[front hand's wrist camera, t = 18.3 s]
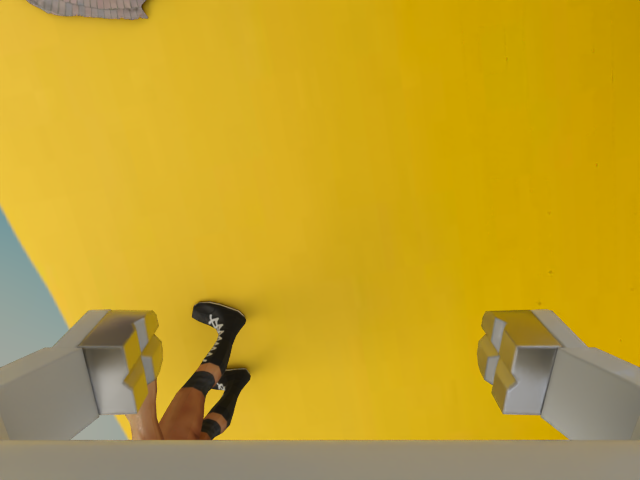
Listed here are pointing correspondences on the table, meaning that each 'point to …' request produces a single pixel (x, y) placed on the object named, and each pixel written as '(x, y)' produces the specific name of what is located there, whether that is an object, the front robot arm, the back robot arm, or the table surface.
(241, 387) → the figurine
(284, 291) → the table surface
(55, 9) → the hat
